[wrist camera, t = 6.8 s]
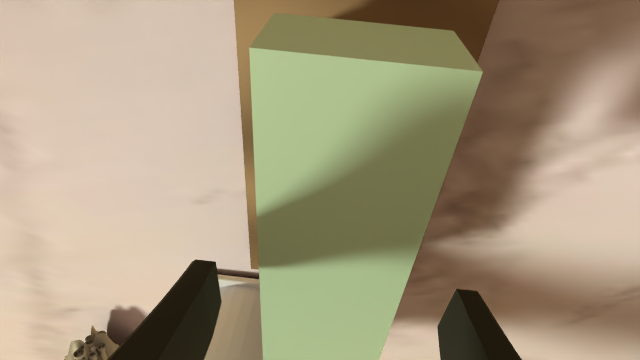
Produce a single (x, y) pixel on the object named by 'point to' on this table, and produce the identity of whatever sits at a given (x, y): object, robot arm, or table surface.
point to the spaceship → (92, 347)
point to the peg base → (357, 5)
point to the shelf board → (347, 173)
